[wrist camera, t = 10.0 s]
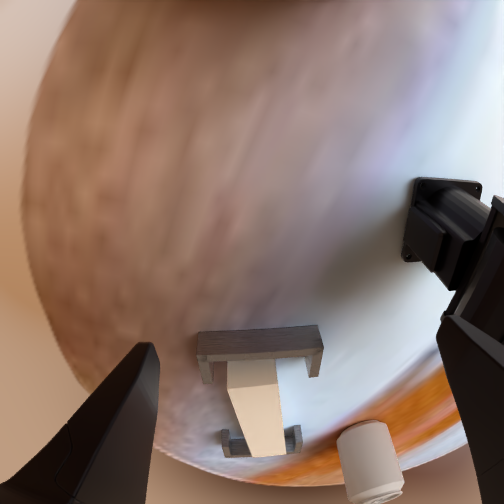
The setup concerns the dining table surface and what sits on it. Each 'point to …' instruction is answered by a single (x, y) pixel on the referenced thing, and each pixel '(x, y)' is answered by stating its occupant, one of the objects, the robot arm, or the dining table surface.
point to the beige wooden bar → (257, 405)
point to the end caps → (257, 348)
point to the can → (369, 463)
